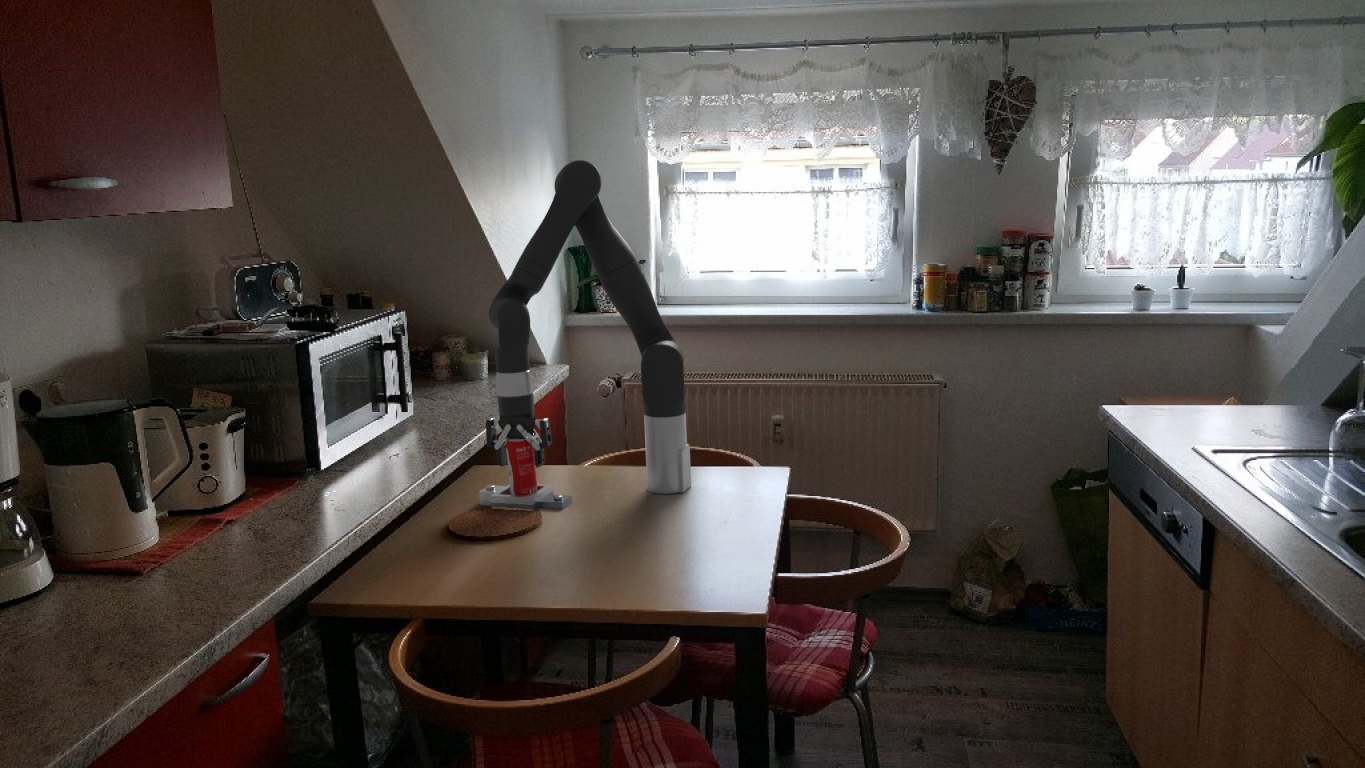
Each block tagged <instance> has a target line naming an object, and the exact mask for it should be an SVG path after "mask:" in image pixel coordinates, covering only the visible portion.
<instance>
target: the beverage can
mask: <svg viewBox="0 0 1365 768" xmlns="http://www.w3.org/2000/svg"><path fill="white" fill-rule="evenodd" d="M505 448H506V460H507V468H508V469H507V470H508V472H507V473H508V480H509V484H510V490H511V495H522V496H531V495H532V494H534V493H535V492H537V491H538V490H537V484H538V480H537V472H536V471H537V470H536V463H535V450H534V447H533V446H532V444H531V443H529V442H528V441H527V440H526V438H525V439H517V438H516V439H510V438H509V437H507V442H506V444H505Z"/></svg>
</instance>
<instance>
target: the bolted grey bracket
mask: <svg viewBox="0 0 1365 768" xmlns="http://www.w3.org/2000/svg"><path fill="white" fill-rule="evenodd" d="M553 486H554V485H553V484H546V483H545V484H543V483H537V490H538V491H537V492H535V493H534V494H532V495H531V496H522V495H511V490H510V483H508V484H507V485H495V484H488V485H487V484H486V485H485V487H484V488H482V489H481V490H479V491H478V498H479V506H490V508H491V507H507V508H522V509H532V510H536V511H537V510H539V509H550V510H564V509H565V508H567V507H568V506H570V505H571V504H572V503H573V496H572V495H563V494H554V487H553Z"/></svg>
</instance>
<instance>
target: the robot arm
mask: <svg viewBox="0 0 1365 768" xmlns="http://www.w3.org/2000/svg"><path fill="white" fill-rule="evenodd" d="M601 188H602V175H601V173H600V170H598V168H597V167H596V166H595V164H593V163H591V162H590V161H587V160H584V159H583V160H582V159H580V160H579V159H577V160H574V161H570V162H569V163H567V164H565V165H564V166H563V167H562V168H561V169H560V170H559V172H558V173H557V175H556V177H555V180H554V191H555V193H554V196H553V199H552V201H551V202H550V203H551V204H550V206H549V208H548V210H547V211H546V214H545V215H544V218H543V219H542V221H541V223H540V224H539V226H538V227H537V229H536V230H535V232H534V234H533V235H532V237H531V238H530V240H529V241H528V242H527V244H526V245H525V247H524V249H523V251H522V252H521V255H520V257H519V258H518V260H517V262H516V264H515V265H514V268H513V270H512V272H511V275H510V276H509V278H508V279H507V280H506V281H505V282H504V283H503V284H502V287H500V289H499V290H498V292H497V293H496V294H495V296H494V297H493V299H492V301H491V303H490V305H489V309H488V319H489V322H490V323H491V325H492V326H493V327H494V328H496V329H498V330H497V331H498V345H497V346H496V347H495V351H494V355H495V356H494V359H495V368H496V369H495V371H496V380H495V381H496V382H495V383H496V384H495V385H496V394H497V395H496V396H497V406H498V407H497V409H498V414H499V418H496V417H494V416H493V417H490V418H488V419H486V420H485V434H486V435H485V436H486V446H487V447H491V448H493V449H494V450H495V454H496V455H495V456H496V462H497V464H499V467H504V466H506V465H508V462H507V453H506V447H505V446H506V442H507V437H509V438H510V439H516V438H517V439H525V438H526V440H527V441H528V442H529V443H531V444H532V446H533V449H535V450H534V460H535V468H540V467H542V466H543V465H544V464H545V460H546V459H545V458H546V457H545V449H546V448H548V447H549V446H551V445H552V444H553V439H552V438H553V437H552V430H551V423H550V419H549V418H548V417H545V418H542V419H541V418H539V419H536V417H535V399H534V388H533V378H532V373H531V366H530V354H529V343H530V335H531V315H530V311H529V307H528V304H529V302H530V300H531V299H532V298H533V297H534V296H536V295H537V294H539V293H540V291H541V290H542V289H543V288H544V285H545V283H546V281H547V279H548V278H549V276H550V274H551V272H552V270H553V268H554V266H555V265H556V262H557V260H558V258H559V256H560V254H561V252H562V250H563V247H564V246H565V244H566V241H567V240H568V237H569V236H570V234H571V232H572V230H573V229H574V227H575V228H576V230H577V232H578V234H579V236H580V238H581V240H582V242H583V245H584V247H585V248H584V249H585V251H586V252H587V255H588V258H589V260H590V262H591V264H592V266H593V268H594V271H595V273H596V275H597V278H598V280H599V282H600V284H601V286H602V288H603V290H604V291H605V293H606V295H607V297H608V299H609V300H610V302H611V303H612V306H614V307H615V309H616V311H617V312H618V313H619V315H620V316H621V317H622V319H623V320H624V322H625V323H626V325H627V326H628V328H629V330H630V331H631V333H632V335H633V338H634V340H635V343H636V344H637V345H636V346H637V347H638V351H639V354H640V357H641V360H640V378H641V381H640V382H641V394H642V395H641V397H642V405H643V420H644V422H643V423H644V424H643V425H644V438H645V439H644V441H645V442H644V445H645V464H646V465H645V466H646V467H645V468H646V469H645V470H646V485H647V486H646V487H647V490H648V492H651V493H654V494H665V495H667V494H668V495H669V494H677V493H686V491H687V490H688V489H689V488H690V487H691V486H692V477H691V476H692V473H691V471H692V470H691V467H692V466H691V450H690V449H691V445H690V444H689V443H688V440H687V438H688V437H687V411H686V410H687V409H686V395H685V394H686V392H685V366H684V363H685V357H684V356H685V355H684V354H683V351H682V348H681V347H680V346H679V344H678V343H677V341H676V339H675V338H674V336H673V335H672V333H671V332H670V330H669V329H668V326H667V325H666V324H665V321H664V320H663V318H662V316H661V314H660V312H659V309H658V307H657V304H656V300H655V298H654V295H653V292H652V290H651V287H650V285H649V283H648V281H647V278H646V275H645V274H644V272H643V270H642V269H643V268H642V267H641V265H640V263H639V261H638V259H637V257H636V255H635V254H634V251H633V250H632V248H631V247H630V245H629V244H628V242H627V241H626V240H625V239H624V237H623V236H622V235H621V233H620V232H619V231H618V230H617V229H616V228H615V226H614V225H613V224H612V222H611V220H610V219H609V217H608V215H607V214H608V213H607V212H606V210H605V208H604V205H603V203H602V201H601V197H600V195H599V194H600V192H601ZM498 427H500V429H501V430H502V432H501V434H500V435H499V437H498V438H497V429H498ZM536 427H537V428H538V430H539V431H540V435H539V433H538V432H537V431H536V429H535V428H536Z"/></svg>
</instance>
